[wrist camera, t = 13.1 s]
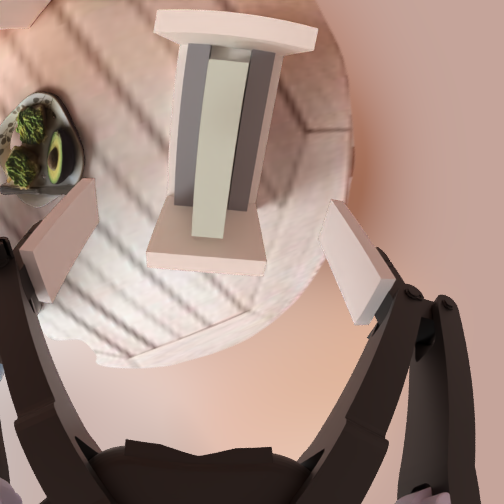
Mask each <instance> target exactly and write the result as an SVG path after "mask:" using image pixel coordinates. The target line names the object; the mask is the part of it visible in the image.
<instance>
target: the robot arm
mask: <svg viewBox="0 0 504 504" xmlns="http://www.w3.org/2000/svg"><path fill="white" fill-rule="evenodd" d="M98 223H99V216H98V208H97V199H96V189H95V178H83V179H81V180H80V181H79V182H78V183H77V184H76V185H75V186H74V187H73V188H72V189H71V190H70V191H69V192H68V194H67V195H66V196H65V197H64V198H63V199H62V200H61V201H60V202H59V203H58V204H57V205H56V206H55V207H54V208H53V210H52V211H51V212H50V213H49V214H48V215H47V216H46V217H45V219H44V220H41V221H39V222H38V223H36V224H35V225H33V226H32V228H31V229H30V230H29V231H28V233H26V235H25V236H24V237H23V238H22V240H21V241H20V242H19V243H18V245H17V246H16V247H15V248H14V250H13V251H12V248H11V245H10V242H9V240H8V238H6V237H0V381H1V379H2V377H3V375H4V373H5V377H6V380H7V384H8V387H9V391H10V394H11V397H12V401H13V404H14V407H15V410H16V413H17V416H18V419H17V420H15V422H14V427H15V430H16V433H17V436H18V438H19V441H20V443H21V446H22V448H23V450H24V453H25V455H26V457H27V459H28V462H29V464H30V466H31V468H32V470H33V472H34V474H35V476H36V478H37V480H38V481H39V483H40V485H41V487H42V489H43V491H44V492H45V494H46V496H47V498H46V499H44V500H43V501H42V502H41V503H40V504H361V503H362V501H363V499H364V497H365V495H366V494H367V492H368V490H369V488H370V486H371V484H372V482H373V480H374V478H375V476H376V474H377V472H378V470H379V468H380V466H381V463H382V461H383V459H384V457H385V454H386V452H387V449H388V445H389V441H388V440H386V439H385V435H386V432H387V430H388V427H389V424H390V422H391V419H392V417H393V414H394V411H395V409H396V406H397V403H398V400H399V397H400V394H401V391H402V388H403V385H404V382H405V379H406V375H407V372H408V369H409V365H410V371H409V397H408V398H409V399H408V412H407V423H406V433H405V441H404V448H403V455H402V462H401V468H400V474H399V481H398V493H397V501H396V503H395V504H481V501H480V494H479V487H478V481H477V476H476V470H475V413H474V399H473V389H472V380H471V373H470V366H469V359H468V353H467V347H466V342H465V337H464V332H463V328H462V323H461V318H460V314H459V310H458V307H457V305H456V303H455V302H454V301H453V300H452V299H451V298H450V297H448V296H446V295H438V297H437V298H436V300H435V301H434V302H432V301H429V300H426V299H424V297H423V295H422V293H421V292H420V291H419V290H418V289H417V288H415V287H414V286H412V285H410V284H405V283H404V281H403V280H402V278H401V277H400V275H399V273H398V272H397V270H396V269H395V268H394V266H393V264H392V263H391V262H390V260H389V258H388V257H387V255H386V254H385V253H384V252H383V251H382V250H381V249H380V248H378V247H375V246H374V244H373V243H372V241H371V240H370V238H369V237H368V235H367V234H366V233H365V231H364V230H363V228H362V227H361V226H360V224H359V223H358V221H357V220H356V218H355V217H354V216H353V214H352V213H351V211H350V210H349V209H348V207H347V206H346V205H345V203H344V202H343V201H338V200H332V199H331V201H330V204H329V207H328V210H327V214H326V217H325V220H324V223H323V226H322V229H321V232H320V235H319V238H318V241H319V243H320V245H321V248H322V250H323V252H324V254H325V256H326V259H327V261H328V263H329V265H330V268H331V270H332V272H333V274H334V277H335V279H336V281H337V284H338V286H339V288H340V291H341V293H342V296H343V298H344V300H345V303H346V305H347V308H348V310H349V312H350V315H351V317H352V320H353V322H354V325H369V323H370V322H371V320H372V319H373V317H374V316H375V317H376V319H377V321H378V322H377V324H376V325H375V327H374V329H373V330H372V331H371V333H370V334H369V336H368V337H367V338H368V339H369V340H368V342H367V344H366V347H365V349H364V351H363V353H362V355H361V357H360V359H359V361H358V363H357V365H356V367H355V369H354V371H353V373H352V376H351V377H350V379H349V381H348V383H347V385H346V387H345V389H344V390H343V392H342V394H341V396H340V398H339V399H338V401H337V403H336V405H335V407H334V408H333V410H332V412H331V413H330V415H329V417H328V418H327V420H326V422H325V424H324V425H323V427H322V428H321V430H320V432H319V433H318V435H317V436H316V438H315V440H314V441H313V442H312V444H311V445H310V447H309V448H308V449H307V450H306V451H305V452H304V453H303V454H302V456H301V457H300V458H299V459H298V461H297V462H296V461H294V460H292V459H290V458H288V457H285V456H282V455H278V454H273V453H272V448H271V447H261V448H235V449H231V450H227V451H222V452H218V453H213V454H208V455H203V456H196V455H192V454H188V453H185V452H181V451H179V450H176V449H173V448H170V447H166V446H164V445H161V444H154V443H147V442H140V441H133V440H128V439H126V442H125V446H119V447H114V448H110V449H107V450H105V451H103V452H102V451H101V449H100V448H99V447H98V445H97V444H96V442H95V441H94V440H93V439H92V437H91V436H90V435H89V433H88V432H87V430H86V429H85V427H84V425H83V423H82V422H81V420H80V418H79V416H78V414H77V412H76V410H75V408H74V406H73V404H72V402H71V400H70V398H69V396H68V394H67V392H66V390H65V388H64V386H63V383H62V381H61V379H60V377H59V374H58V372H57V369H56V367H55V365H54V362H53V360H52V357H51V355H50V352H49V349H48V347H47V344H46V341H45V338H44V335H43V332H42V329H41V326H40V323H39V320H38V317H37V315H38V313H39V311H40V309H41V302H45V303H51V304H52V303H53V301H54V299H55V297H56V295H57V293H58V291H59V289H60V287H61V286H62V284H63V282H64V280H65V278H66V276H67V274H68V273H69V271H70V269H71V267H72V265H73V264H74V262H75V260H76V258H77V257H78V255H79V253H80V252H81V250H82V248H83V247H84V245H85V243H86V242H87V240H88V238H89V237H90V235H91V234H92V232H93V231H94V229H95V227H96V226H97V224H98ZM0 504H22V500H21V498H20V496H19V495H18V494H17V493H15V491H14V489H13V488H12V486H11V485H10V479H9V470H8V464H7V458H6V452H5V447H4V442H3V436H2V429H1V422H0Z"/></svg>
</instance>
